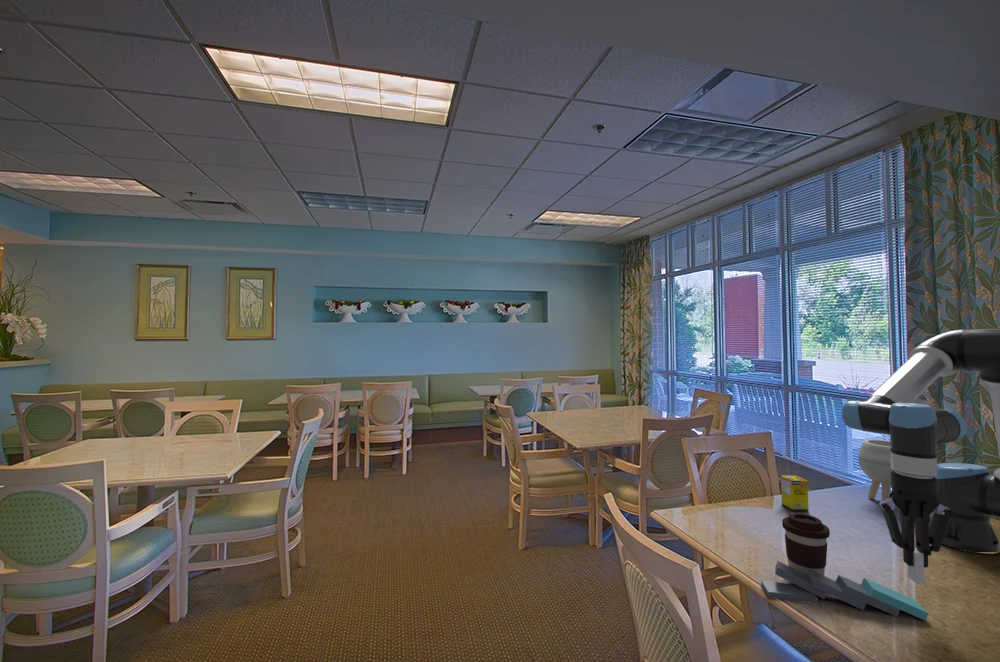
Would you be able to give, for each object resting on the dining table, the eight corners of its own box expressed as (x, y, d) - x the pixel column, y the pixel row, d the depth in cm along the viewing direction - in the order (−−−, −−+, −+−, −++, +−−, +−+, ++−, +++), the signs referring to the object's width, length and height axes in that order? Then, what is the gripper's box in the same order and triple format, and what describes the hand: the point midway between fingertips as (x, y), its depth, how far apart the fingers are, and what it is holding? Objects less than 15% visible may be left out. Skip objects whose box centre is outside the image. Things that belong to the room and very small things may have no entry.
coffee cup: (833, 592, 103) (831, 530, 103) (783, 580, 108) (782, 520, 109) (828, 573, 111) (827, 515, 112) (782, 563, 117) (781, 507, 117)
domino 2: (825, 583, 103) (777, 560, 109) (827, 592, 99) (777, 567, 105) (822, 590, 104) (775, 567, 109) (824, 599, 99) (775, 574, 105)
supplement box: (809, 511, 152) (808, 480, 152) (792, 511, 152) (791, 480, 152) (797, 505, 157) (797, 475, 158) (781, 505, 158) (780, 475, 158)
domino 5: (915, 600, 97) (863, 577, 100) (928, 613, 92) (874, 589, 96) (912, 607, 97) (861, 584, 100) (925, 620, 92) (871, 596, 96)
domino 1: (807, 585, 104) (761, 580, 106) (817, 598, 99) (768, 591, 101) (807, 593, 104) (761, 587, 106) (817, 605, 99) (768, 599, 101)
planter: (885, 513, 150) (884, 449, 150) (848, 496, 166) (846, 438, 166) (931, 512, 150) (929, 448, 150) (889, 496, 166) (887, 438, 167)
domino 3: (858, 591, 100) (809, 569, 104) (866, 603, 96) (814, 579, 100) (855, 598, 101) (806, 575, 105) (863, 610, 96) (812, 586, 100)
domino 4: (888, 596, 99) (838, 574, 102) (900, 609, 94) (847, 586, 97) (885, 603, 99) (835, 581, 102) (896, 616, 94) (844, 593, 97)
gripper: (938, 471, 97) (941, 576, 97) (869, 466, 101) (871, 567, 101) (963, 481, 90) (966, 594, 90) (887, 476, 94) (889, 584, 93)
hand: (916, 580), depth 95 cm, fingers closed
